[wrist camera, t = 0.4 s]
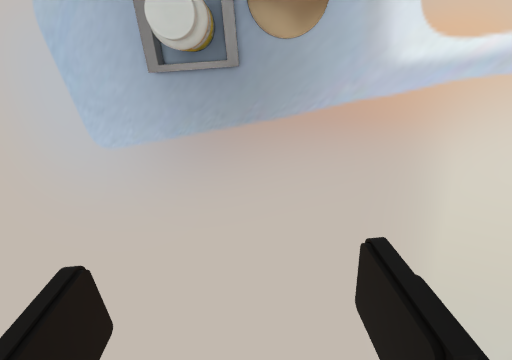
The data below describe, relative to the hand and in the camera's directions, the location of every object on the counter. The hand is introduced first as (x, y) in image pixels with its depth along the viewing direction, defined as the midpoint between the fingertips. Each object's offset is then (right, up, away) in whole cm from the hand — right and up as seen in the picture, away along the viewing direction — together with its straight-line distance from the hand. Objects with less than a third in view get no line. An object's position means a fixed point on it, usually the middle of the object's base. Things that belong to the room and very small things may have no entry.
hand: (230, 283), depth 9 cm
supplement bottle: (-6, +21, +21) cm, 30 cm away
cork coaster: (+4, +24, +20) cm, 32 cm away
